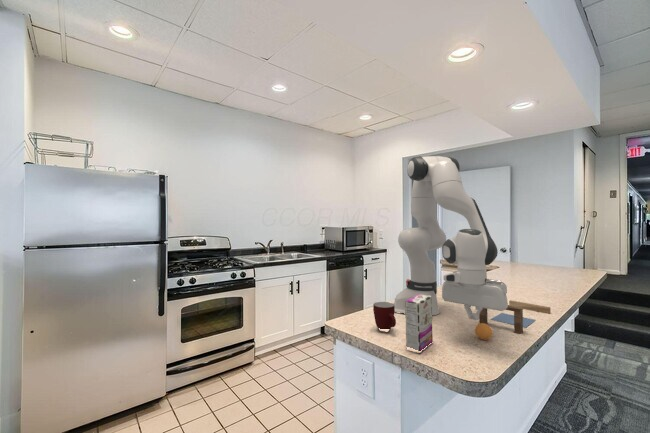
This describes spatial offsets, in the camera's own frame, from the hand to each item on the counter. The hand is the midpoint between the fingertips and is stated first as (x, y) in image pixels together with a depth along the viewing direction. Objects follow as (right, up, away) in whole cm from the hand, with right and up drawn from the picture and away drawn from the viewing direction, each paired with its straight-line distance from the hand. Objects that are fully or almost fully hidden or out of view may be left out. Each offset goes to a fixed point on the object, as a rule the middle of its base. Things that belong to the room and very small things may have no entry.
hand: (473, 319), depth 100 cm
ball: (+7, -7, +6) cm, 11 cm away
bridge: (+19, -9, +17) cm, 27 cm away
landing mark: (+29, -9, +26) cm, 40 cm away
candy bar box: (-18, -10, +1) cm, 20 cm away
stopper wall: (+46, -9, +40) cm, 62 cm away
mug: (-26, -10, +15) cm, 32 cm away
